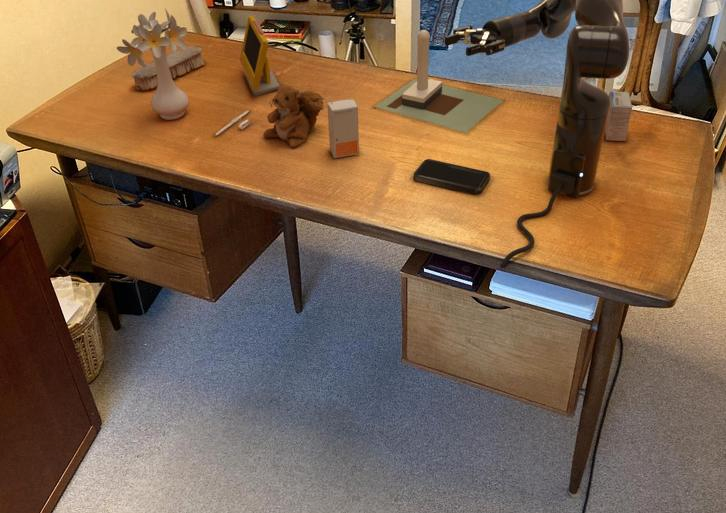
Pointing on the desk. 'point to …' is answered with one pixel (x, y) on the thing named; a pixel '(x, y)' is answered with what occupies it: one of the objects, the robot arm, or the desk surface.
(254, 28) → the yellow framed monitor
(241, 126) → the pen with cap
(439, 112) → the desk mat
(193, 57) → the shoe brush
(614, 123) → the medicine box
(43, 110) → the desk surface
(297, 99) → the stuffed squirrel
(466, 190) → the phone
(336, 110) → the cosmetic box
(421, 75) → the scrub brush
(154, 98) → the flower vase
